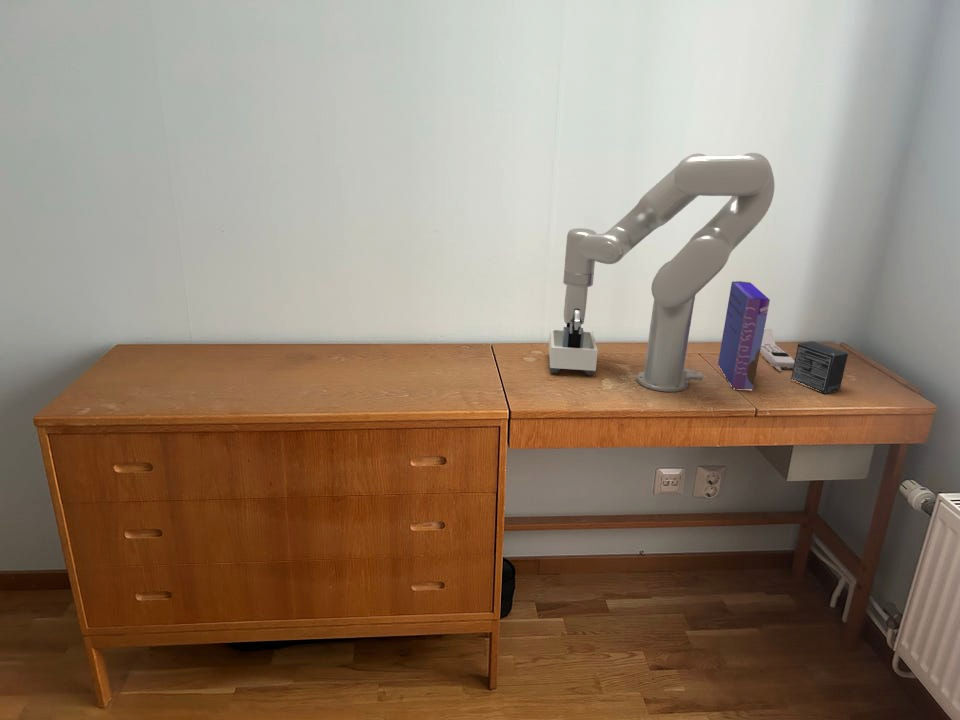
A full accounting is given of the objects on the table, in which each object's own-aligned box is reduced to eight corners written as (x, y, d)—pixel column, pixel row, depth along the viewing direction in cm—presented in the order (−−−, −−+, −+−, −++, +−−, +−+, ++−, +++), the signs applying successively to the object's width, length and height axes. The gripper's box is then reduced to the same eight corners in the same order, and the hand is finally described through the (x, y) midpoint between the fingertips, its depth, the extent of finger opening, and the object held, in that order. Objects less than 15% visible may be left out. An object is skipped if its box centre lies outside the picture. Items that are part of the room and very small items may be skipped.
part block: (580, 352, 186) (582, 327, 184) (581, 359, 182) (583, 333, 179) (561, 351, 187) (563, 326, 184) (562, 358, 182) (564, 332, 179)
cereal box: (752, 391, 175) (770, 298, 166) (733, 390, 175) (749, 297, 167) (735, 367, 191) (750, 281, 183) (717, 365, 191) (731, 280, 183)
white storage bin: (590, 357, 192) (592, 331, 190) (594, 377, 178) (597, 350, 175) (548, 354, 193) (550, 329, 190) (549, 374, 178) (551, 347, 176)
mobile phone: (770, 326, 210) (802, 353, 186) (767, 344, 212) (798, 373, 188) (749, 325, 210) (779, 352, 186) (746, 344, 212) (775, 373, 188)
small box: (841, 391, 177) (850, 352, 174) (825, 395, 174) (834, 355, 170) (805, 377, 186) (813, 339, 182) (789, 380, 183) (797, 343, 179)
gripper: (562, 269, 185) (557, 331, 191) (565, 285, 169) (559, 351, 175) (590, 271, 185) (584, 332, 191) (596, 287, 169) (589, 353, 175)
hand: (572, 341), depth 183 cm, fingers open, 9 cm apart
